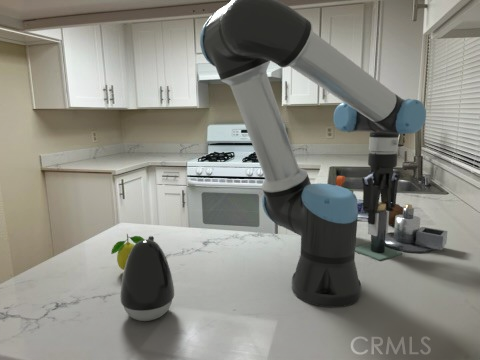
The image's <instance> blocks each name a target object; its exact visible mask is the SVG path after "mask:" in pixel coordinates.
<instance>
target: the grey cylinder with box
mask: <svg viewBox="0 0 480 360" xmlns="http://www.w3.org/2000/svg"><path fill="white" fill-rule="evenodd" d="M402 207H403V215H396V216H395V225H394V231H393V232H394V239H395V240H397V241H400V242H404V243H416V244H415V245H420V246H425V247H430V248H435V249H436V250H441V251H442V250H444V248H445V247H446V245H447V240H448V230H444V229H443V230H442V229H437V228H432V227H431V228H430V227H428V226H427V227H425V226H421V217H418V216H416V215H414V212H415V208H414V207H413V204H409V203H407V204H405V206H402ZM435 249H434V250H435Z"/></svg>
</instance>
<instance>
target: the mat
mask: <svg viewBox="0 0 480 360" xmlns="http://www.w3.org/2000/svg"><path fill="white" fill-rule="evenodd" d="M355 253H359V254H361V255H363V256H366V257H369V258H371V259H374V260H375V261H378V262H380V261H384V260H387V259H390V258H393V257H397V256H400V255H402V254H403V251H398V250H394V249H391V248H388V247H385V252H383V253H376V252H372V251H371V242H369V243H366V244H362V245H358V246H355Z"/></svg>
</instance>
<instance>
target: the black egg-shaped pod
mask: <svg viewBox="0 0 480 360" xmlns="http://www.w3.org/2000/svg"><path fill="white" fill-rule="evenodd" d="M154 240H155V237H154V236H153V235H149V236H148V239H144V240H142V241H139V242H138V243H135V244H134V247H133V248H132V250H131V251H130V253H129V256H128V258H127V261H126V265H125V269H124V270H123V273H122V278H121V285H120V303H121V305H122V306H123V309H124V311H125V312H126V314H127V315H128V316H130V318H132V319H133V320H136V321H139V322H140V321H141V322H147V321H148V322H149V321H154V320H156V319H159V318H161V317H162V316H164V315H165V314H166V313H167V312H168V311H169V309H170V308H171V306H172V302H173V299H174V297H175V286H174V280H173V276H172V271H171V270H170V269H171V268H170V265H169V263H168V260H167V257H166V255H165V253H164V251H163V249H162V247H161V246H160V245H159V244H158V243H157V242H156V241H154Z"/></svg>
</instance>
